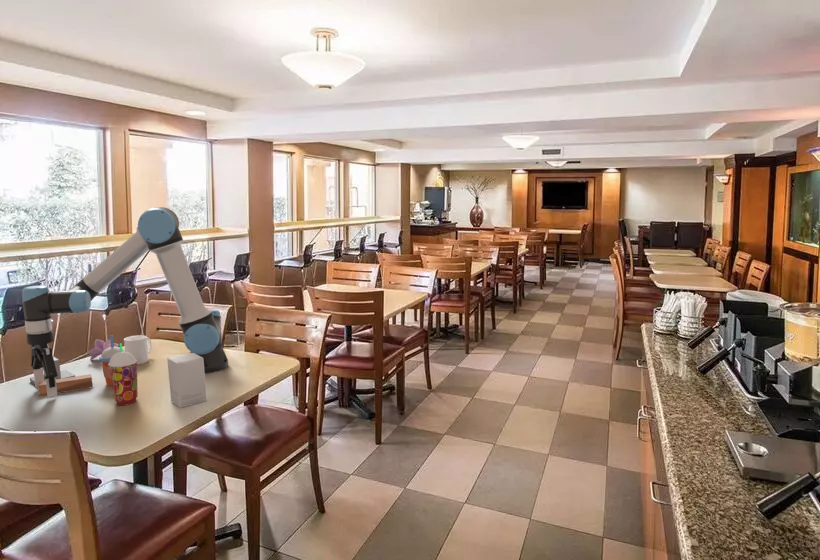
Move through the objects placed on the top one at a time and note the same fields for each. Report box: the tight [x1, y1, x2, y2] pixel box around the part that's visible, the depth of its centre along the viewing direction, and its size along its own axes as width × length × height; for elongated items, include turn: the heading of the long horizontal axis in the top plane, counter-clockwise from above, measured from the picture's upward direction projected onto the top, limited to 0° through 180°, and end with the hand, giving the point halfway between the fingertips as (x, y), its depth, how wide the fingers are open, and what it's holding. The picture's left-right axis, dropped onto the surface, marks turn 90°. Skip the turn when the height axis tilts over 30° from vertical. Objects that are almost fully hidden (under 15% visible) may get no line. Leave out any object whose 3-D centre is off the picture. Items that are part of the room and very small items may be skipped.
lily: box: [86, 338, 120, 361], centre depth 233 cm, size 12×12×10 cm
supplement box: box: [166, 352, 207, 408], centre depth 185 cm, size 9×9×15 cm
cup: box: [123, 335, 153, 365], centre depth 231 cm, size 8×12×10 cm
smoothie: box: [108, 342, 138, 406], centre depth 184 cm, size 8×8×20 cm
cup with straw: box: [98, 334, 125, 387], centre depth 202 cm, size 9×9×18 cm
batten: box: [37, 373, 94, 397], centre depth 198 cm, size 4×16×4 cm, turn 121°
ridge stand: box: [29, 356, 76, 385], centre depth 207 cm, size 10×12×8 cm
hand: (46, 391), depth 194 cm, fingers open, 13 cm apart
